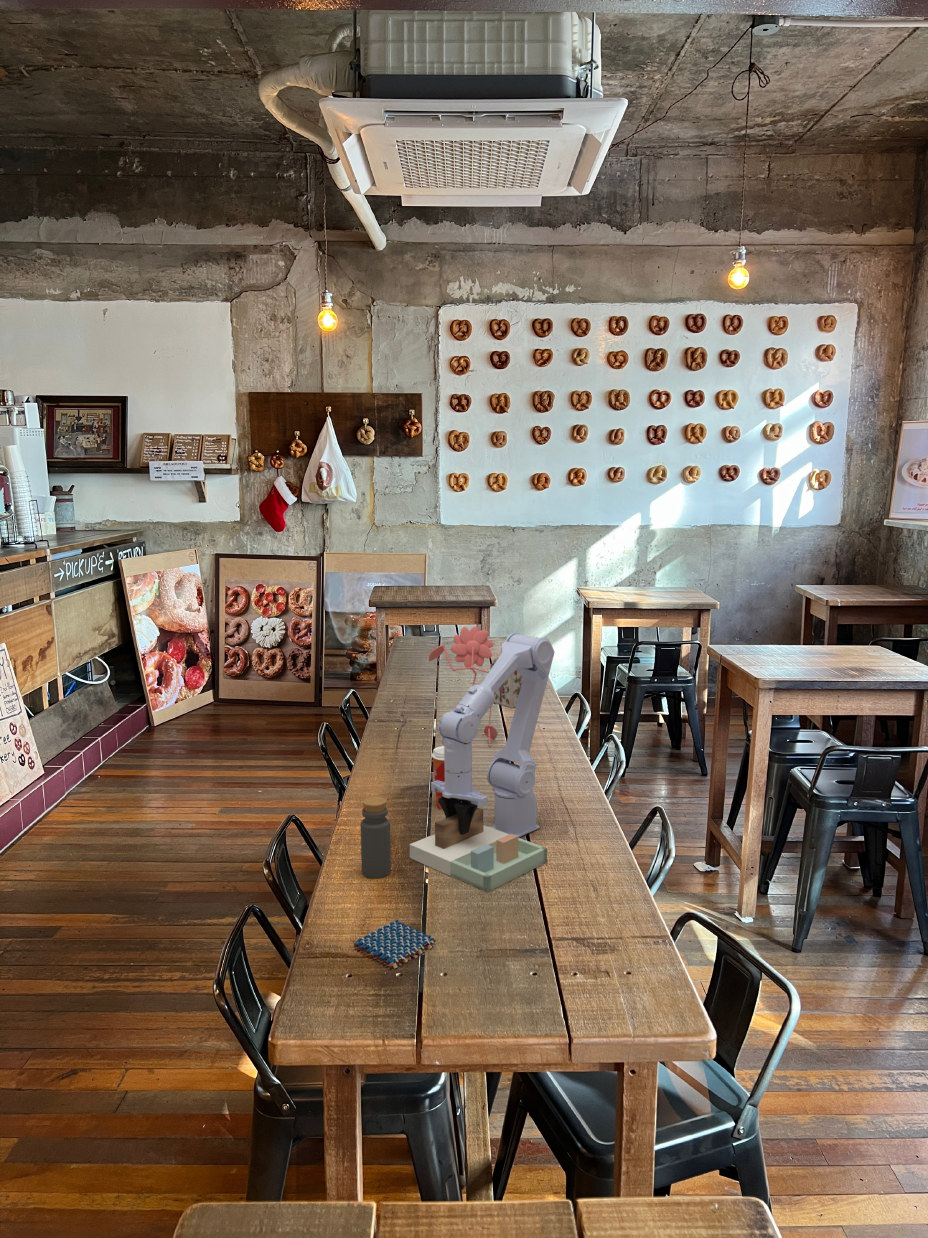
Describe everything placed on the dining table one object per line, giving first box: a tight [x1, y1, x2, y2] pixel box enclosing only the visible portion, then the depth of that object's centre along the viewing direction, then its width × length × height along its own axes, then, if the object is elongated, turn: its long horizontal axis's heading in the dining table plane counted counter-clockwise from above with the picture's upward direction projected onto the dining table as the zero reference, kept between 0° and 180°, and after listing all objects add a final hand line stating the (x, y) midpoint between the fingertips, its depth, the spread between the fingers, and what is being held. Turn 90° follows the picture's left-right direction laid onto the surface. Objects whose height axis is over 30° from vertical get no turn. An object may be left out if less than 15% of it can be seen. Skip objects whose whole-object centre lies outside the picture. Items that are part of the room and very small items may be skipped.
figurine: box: [428, 626, 498, 748], centre depth 259 cm, size 15×26×35 cm, turn 94°
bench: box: [409, 824, 509, 876], centre depth 183 cm, size 18×12×3 cm, turn 136°
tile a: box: [496, 834, 518, 864], centre depth 178 cm, size 4×4×2 cm
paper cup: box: [431, 745, 445, 811], centre depth 209 cm, size 8×8×14 cm
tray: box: [449, 837, 548, 893], centre depth 175 cm, size 18×10×3 cm, turn 136°
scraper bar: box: [434, 807, 484, 849], centre depth 183 cm, size 12×2×5 cm, turn 136°
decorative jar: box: [489, 656, 523, 709], centre depth 304 cm, size 12×12×18 cm
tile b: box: [471, 844, 494, 873], centre depth 173 cm, size 4×4×2 cm
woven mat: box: [353, 919, 436, 970], centre depth 147 cm, size 10×11×2 cm
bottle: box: [360, 796, 392, 879], centre depth 173 cm, size 6×6×15 cm
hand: (458, 831), depth 183 cm, fingers closed on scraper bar, 2 cm apart
